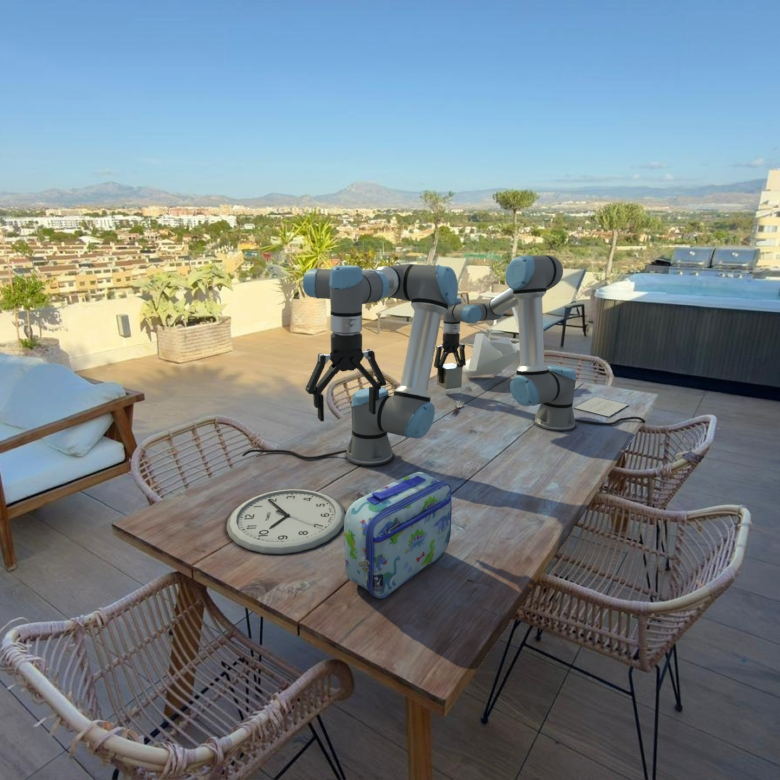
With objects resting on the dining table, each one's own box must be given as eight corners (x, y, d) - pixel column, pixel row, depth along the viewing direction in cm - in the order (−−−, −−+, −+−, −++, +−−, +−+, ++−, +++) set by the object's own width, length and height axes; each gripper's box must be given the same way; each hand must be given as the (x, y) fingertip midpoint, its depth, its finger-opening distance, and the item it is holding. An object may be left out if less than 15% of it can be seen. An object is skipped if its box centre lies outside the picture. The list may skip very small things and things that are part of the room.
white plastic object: (482, 418, 266) (461, 395, 241) (463, 346, 288) (443, 318, 264) (553, 394, 254) (538, 368, 229) (528, 321, 276) (512, 289, 251)
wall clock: (345, 545, 122) (213, 550, 119) (345, 551, 122) (214, 556, 120) (344, 484, 150) (238, 487, 148) (345, 490, 151) (239, 492, 148)
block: (436, 384, 241) (437, 364, 239) (451, 382, 244) (452, 363, 242) (446, 389, 234) (446, 368, 231) (461, 387, 237) (462, 367, 234)
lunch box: (372, 611, 103) (373, 518, 97) (338, 585, 111) (336, 497, 104) (455, 557, 121) (460, 475, 115) (420, 537, 128) (424, 459, 122)
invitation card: (608, 416, 214) (573, 407, 224) (608, 416, 214) (573, 408, 224) (628, 404, 229) (594, 396, 238) (628, 405, 229) (594, 397, 238)
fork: (449, 415, 212) (449, 411, 211) (458, 403, 226) (458, 399, 226) (455, 416, 211) (455, 411, 211) (464, 404, 225) (464, 400, 225)
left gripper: (299, 339, 116) (302, 427, 123) (400, 331, 126) (398, 414, 132) (290, 332, 123) (294, 417, 129) (387, 326, 133) (386, 405, 139)
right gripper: (434, 335, 225) (433, 386, 231) (475, 332, 233) (473, 381, 239) (426, 332, 231) (425, 381, 238) (466, 329, 239) (464, 377, 246)
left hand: (347, 416), depth 131 cm, fingers open, 13 cm apart
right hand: (449, 381), depth 239 cm, fingers closed on block, 8 cm apart
